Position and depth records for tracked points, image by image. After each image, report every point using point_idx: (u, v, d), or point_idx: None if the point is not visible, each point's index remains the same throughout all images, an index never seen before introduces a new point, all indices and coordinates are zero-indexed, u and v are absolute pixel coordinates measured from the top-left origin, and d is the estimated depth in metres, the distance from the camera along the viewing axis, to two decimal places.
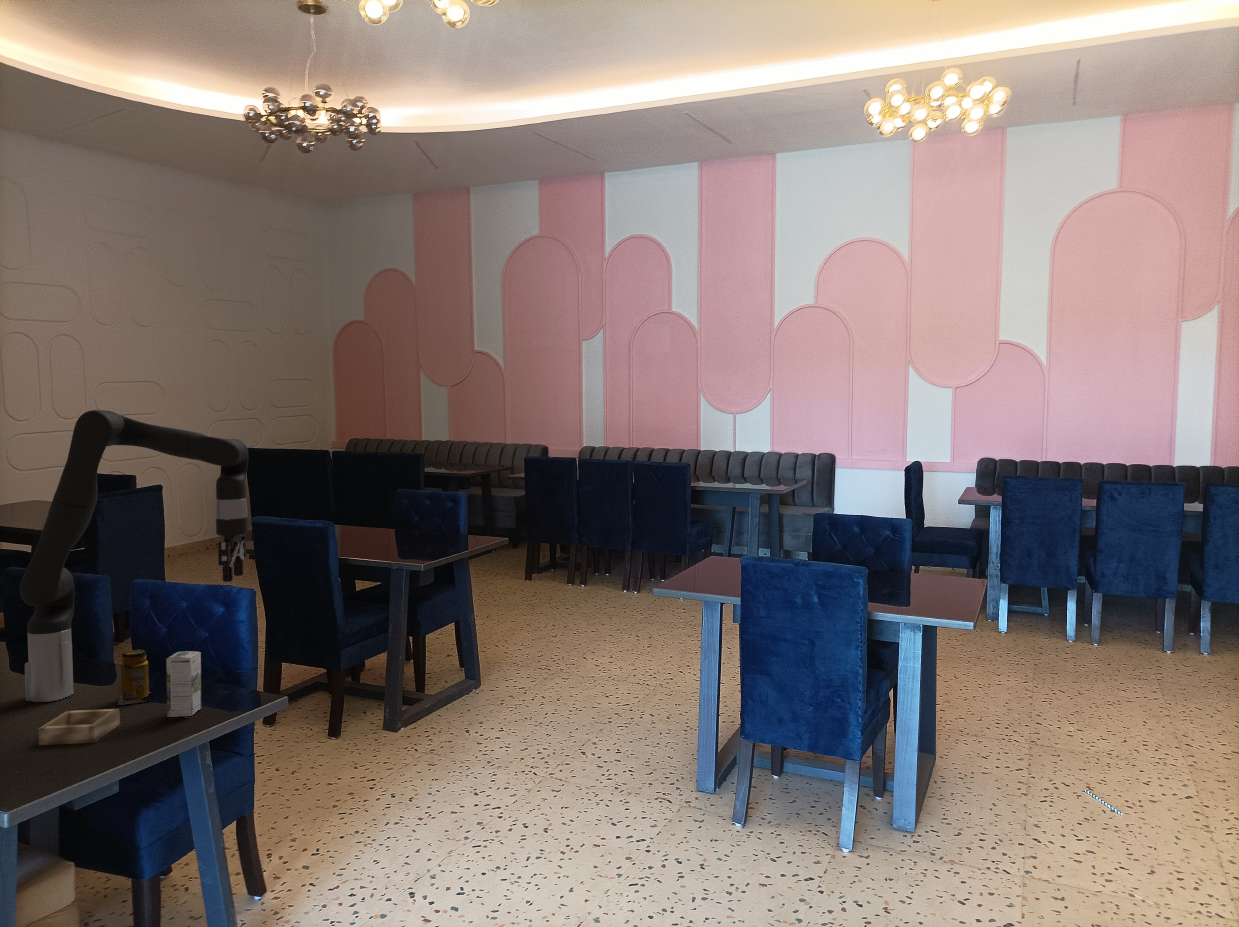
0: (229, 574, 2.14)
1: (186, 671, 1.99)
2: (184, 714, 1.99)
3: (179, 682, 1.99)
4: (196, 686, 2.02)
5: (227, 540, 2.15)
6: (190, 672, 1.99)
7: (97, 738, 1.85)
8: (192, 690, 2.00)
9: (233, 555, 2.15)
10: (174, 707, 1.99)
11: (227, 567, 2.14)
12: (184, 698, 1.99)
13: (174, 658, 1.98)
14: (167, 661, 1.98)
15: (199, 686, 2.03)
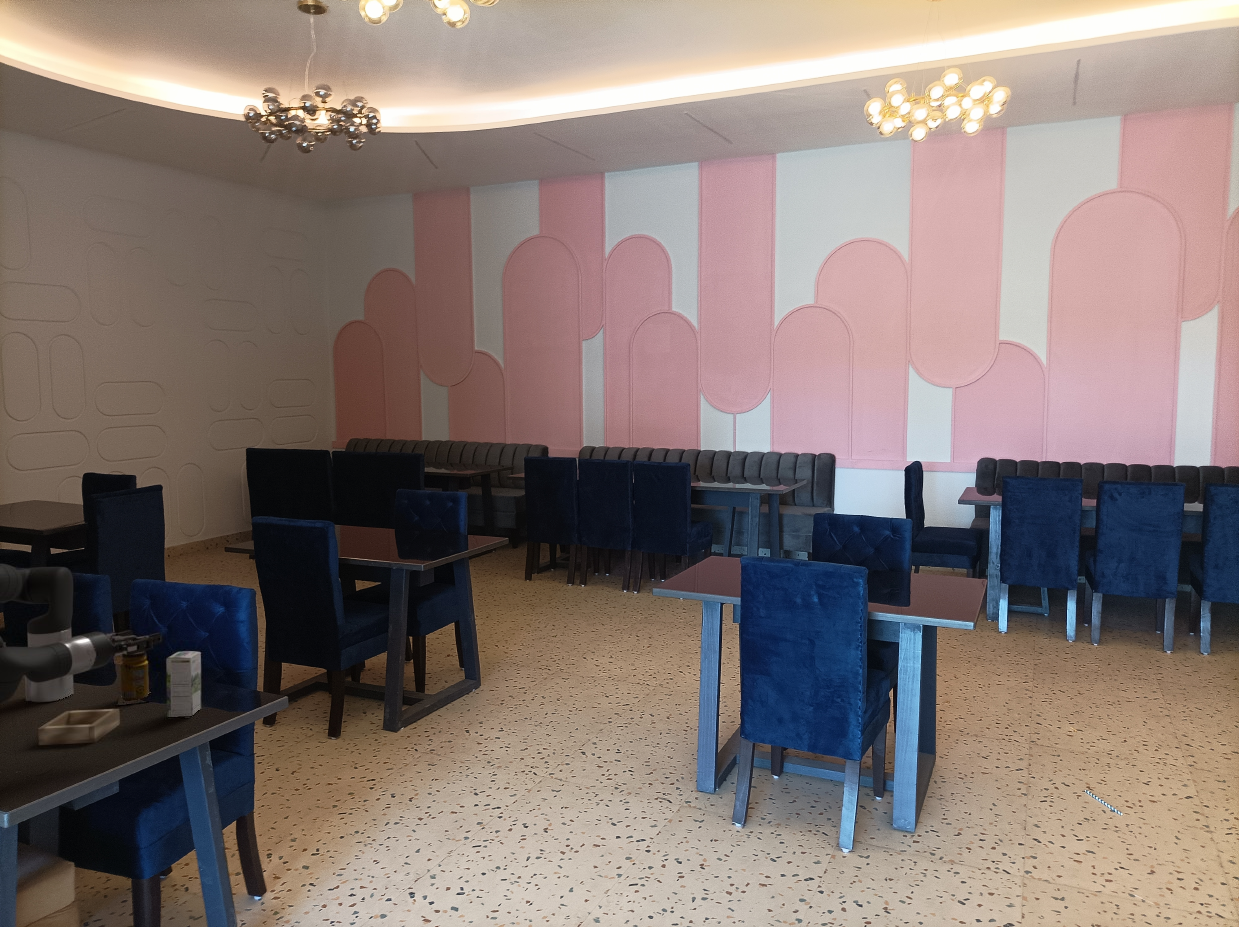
0: (156, 636, 1.88)
1: (186, 671, 1.99)
2: (184, 714, 1.99)
3: (179, 682, 1.99)
4: (196, 686, 2.02)
5: (118, 648, 1.80)
6: (190, 672, 1.99)
7: (97, 738, 1.85)
8: (192, 690, 2.00)
9: (134, 637, 1.84)
10: (174, 707, 1.99)
11: None
12: (184, 698, 1.99)
13: (174, 658, 1.98)
14: (167, 661, 1.98)
15: (199, 686, 2.03)
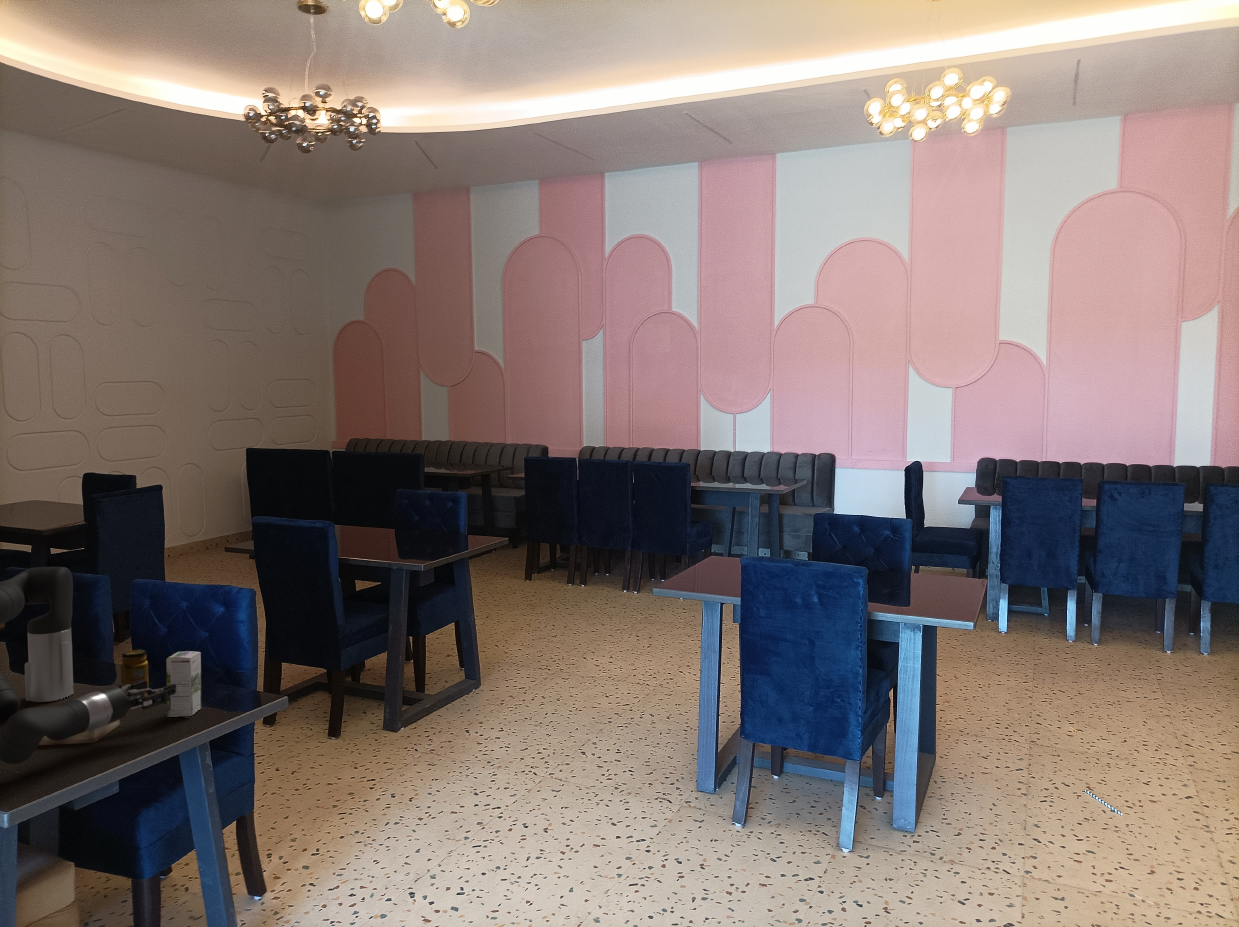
0: (170, 688, 1.91)
1: (186, 671, 1.99)
2: (184, 714, 1.99)
3: (179, 682, 1.99)
4: (196, 686, 2.02)
5: (133, 702, 1.84)
6: (190, 672, 1.99)
7: (97, 738, 1.85)
8: (192, 690, 2.00)
9: (149, 690, 1.87)
10: (174, 707, 1.99)
11: None
12: (184, 698, 1.99)
13: (174, 658, 1.98)
14: (167, 661, 1.98)
15: (199, 686, 2.03)
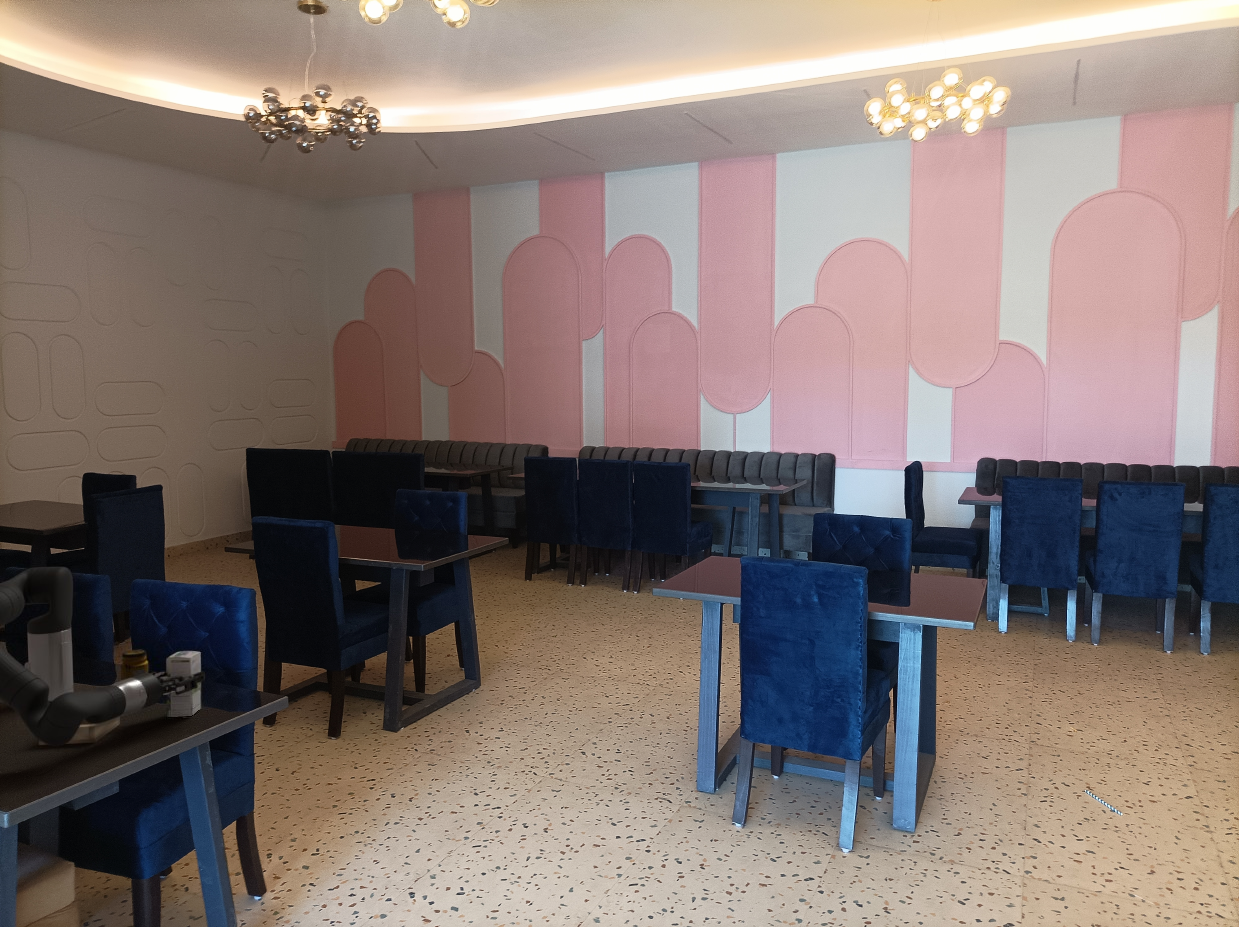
0: (199, 675, 2.00)
1: (186, 670, 1.99)
2: (184, 714, 1.99)
3: None
4: None
5: (166, 688, 1.92)
6: (190, 672, 1.99)
7: (97, 738, 1.85)
8: (192, 690, 2.00)
9: (180, 677, 1.96)
10: (174, 706, 1.99)
11: None
12: (184, 698, 1.99)
13: (174, 658, 1.98)
14: (167, 661, 1.98)
15: (199, 686, 2.04)
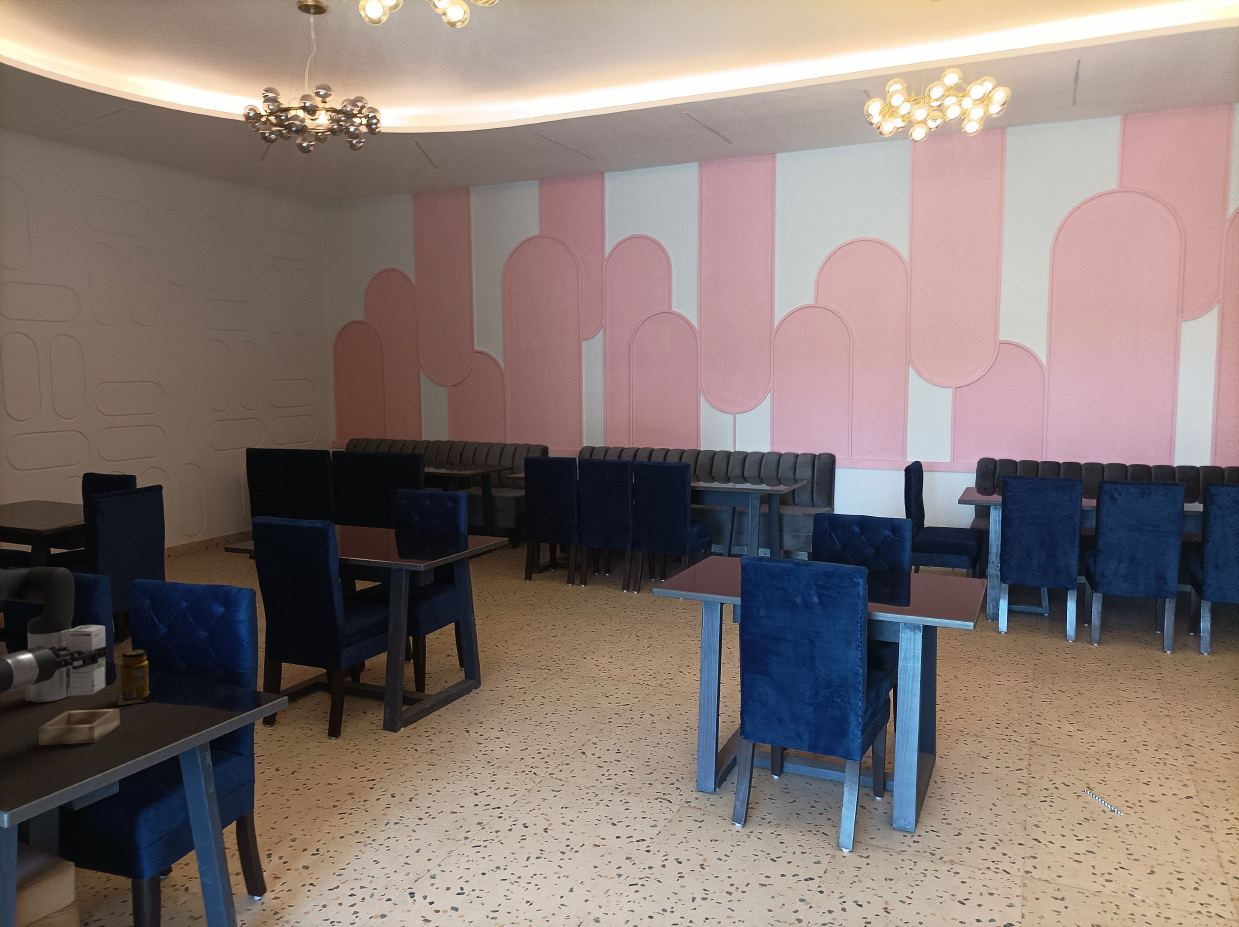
0: (102, 650, 1.88)
1: (87, 645, 1.86)
2: (85, 691, 1.86)
3: None
4: (99, 662, 1.89)
5: (62, 663, 1.80)
6: (91, 646, 1.86)
7: (97, 738, 1.85)
8: (94, 666, 1.87)
9: (79, 651, 1.83)
10: (74, 683, 1.86)
11: None
12: (85, 674, 1.86)
13: (74, 631, 1.86)
14: (66, 634, 1.86)
15: (103, 662, 1.91)
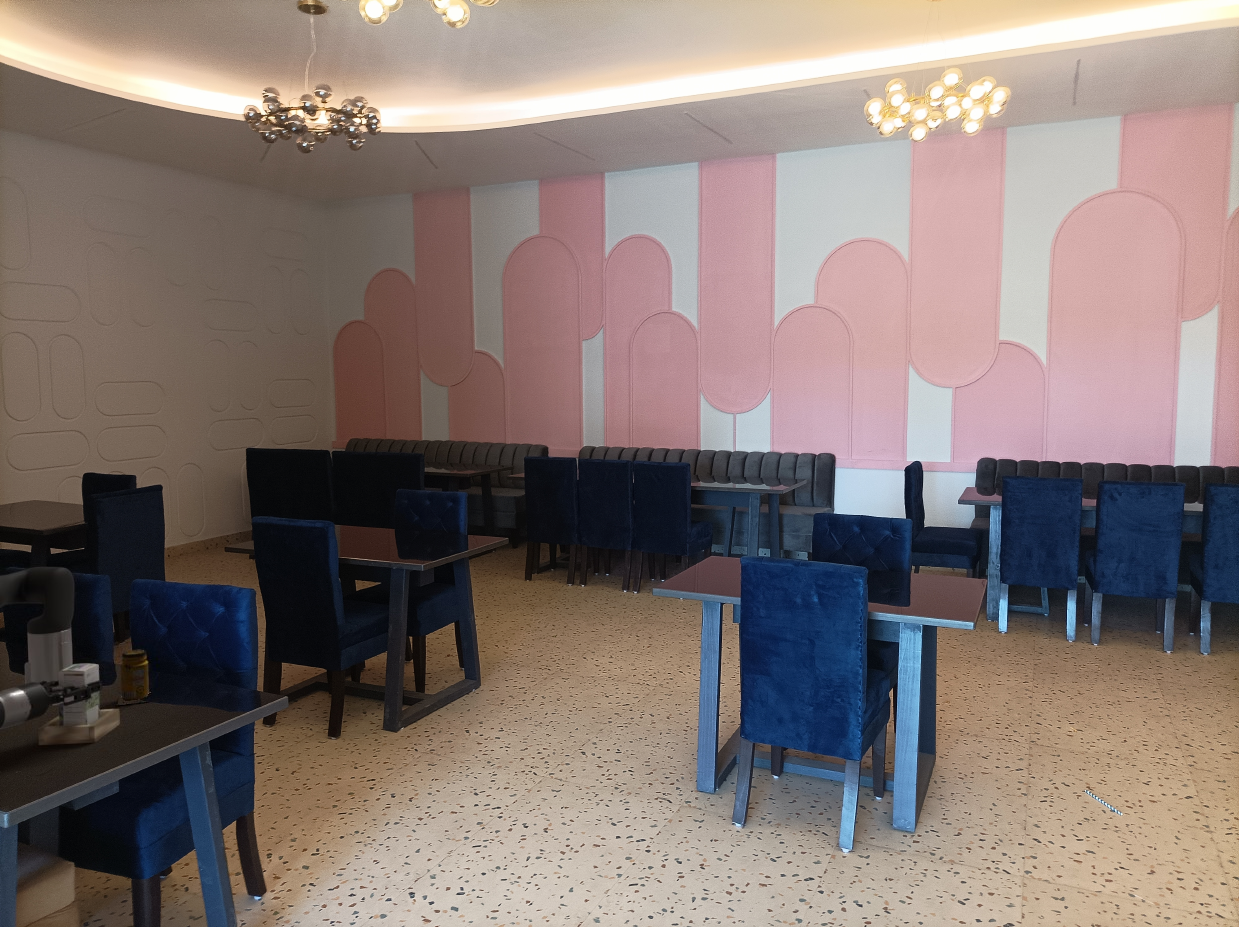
0: (95, 684, 1.87)
1: (79, 685, 1.85)
2: None
3: None
4: (92, 701, 1.88)
5: (54, 699, 1.79)
6: None
7: (97, 738, 1.85)
8: (86, 705, 1.86)
9: (72, 687, 1.83)
10: (67, 723, 1.86)
11: None
12: (78, 714, 1.86)
13: (67, 671, 1.85)
14: (59, 674, 1.85)
15: (97, 701, 1.90)
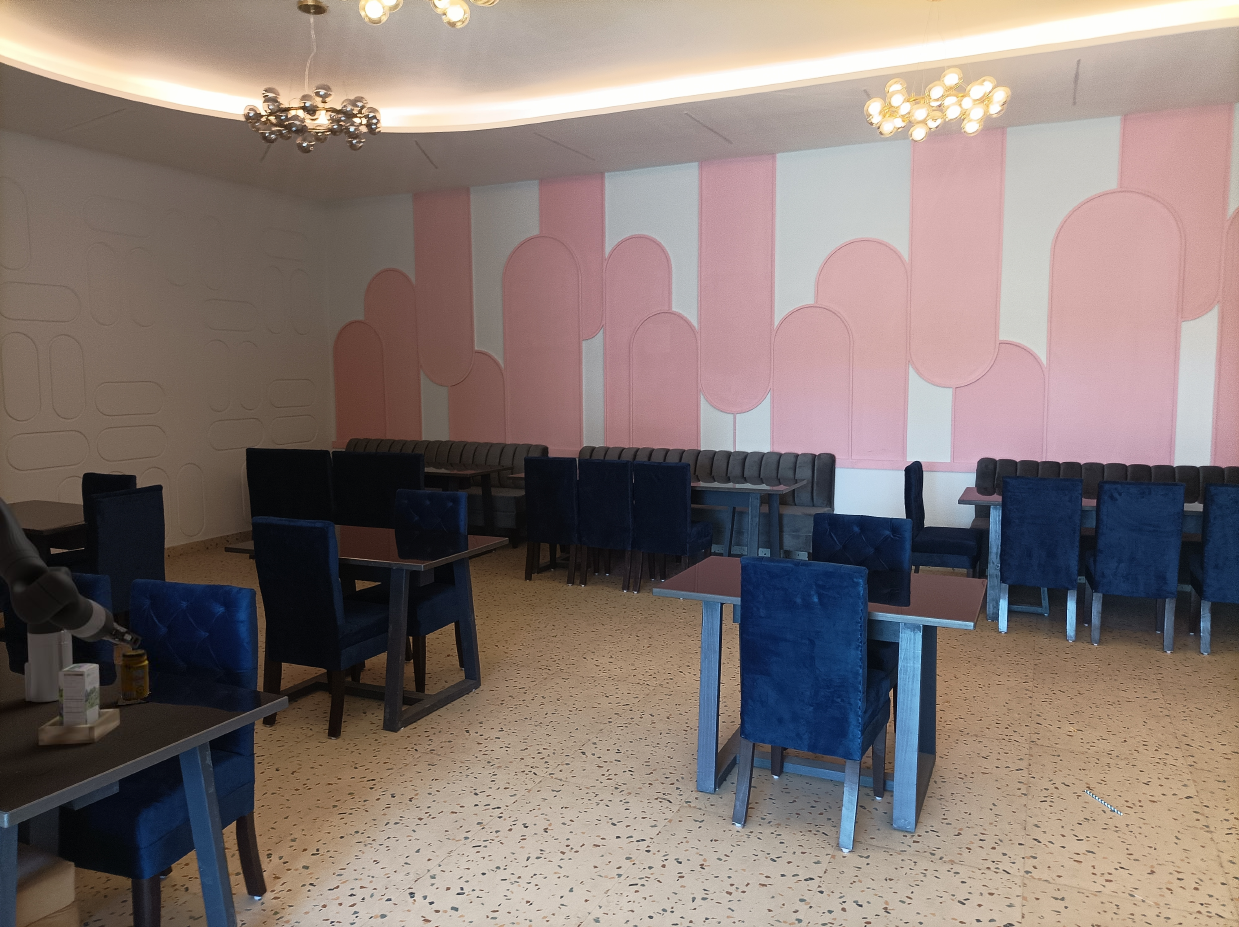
0: None
1: (79, 685, 1.85)
2: None
3: (72, 697, 1.85)
4: (92, 701, 1.88)
5: (113, 631, 1.83)
6: (84, 686, 1.86)
7: (97, 738, 1.85)
8: (86, 705, 1.86)
9: (125, 630, 1.87)
10: (67, 723, 1.86)
11: None
12: (78, 714, 1.86)
13: (67, 671, 1.85)
14: (59, 674, 1.85)
15: (97, 701, 1.90)
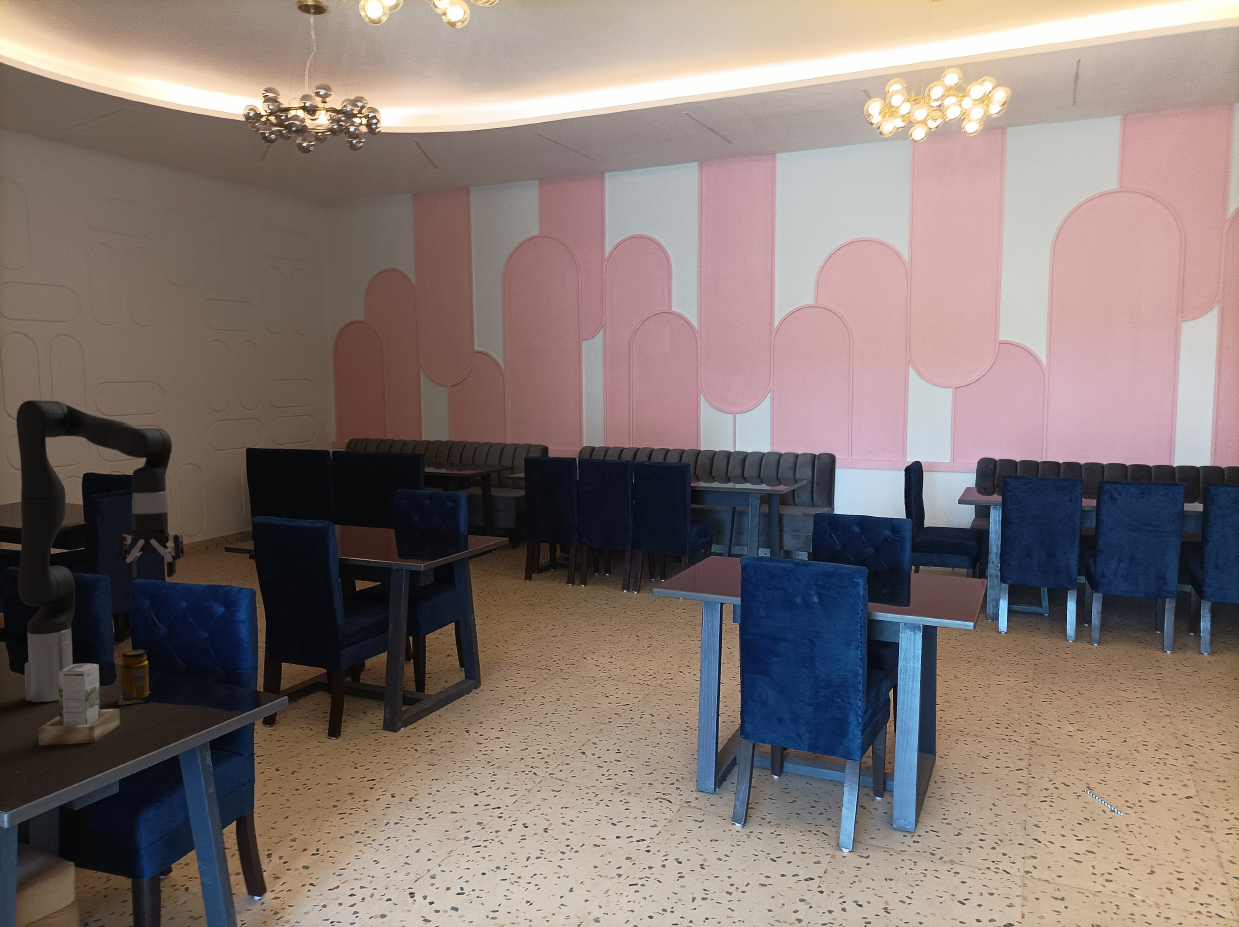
0: None
1: (79, 685, 1.85)
2: None
3: (72, 697, 1.85)
4: (92, 701, 1.88)
5: (166, 534, 2.05)
6: (84, 686, 1.86)
7: (97, 738, 1.85)
8: (86, 705, 1.86)
9: (170, 549, 2.07)
10: (67, 723, 1.86)
11: (175, 561, 2.06)
12: (78, 714, 1.86)
13: (67, 671, 1.85)
14: (59, 674, 1.85)
15: (97, 701, 1.90)
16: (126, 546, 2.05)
